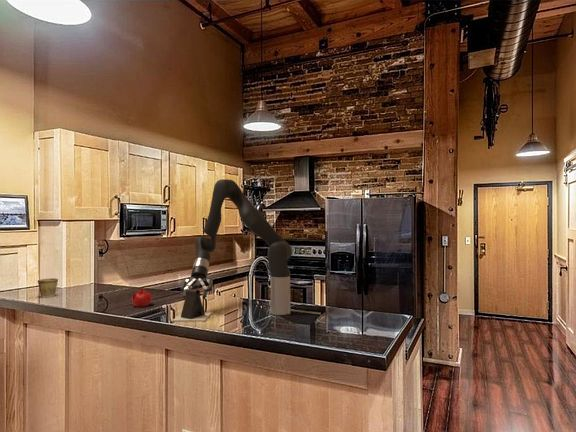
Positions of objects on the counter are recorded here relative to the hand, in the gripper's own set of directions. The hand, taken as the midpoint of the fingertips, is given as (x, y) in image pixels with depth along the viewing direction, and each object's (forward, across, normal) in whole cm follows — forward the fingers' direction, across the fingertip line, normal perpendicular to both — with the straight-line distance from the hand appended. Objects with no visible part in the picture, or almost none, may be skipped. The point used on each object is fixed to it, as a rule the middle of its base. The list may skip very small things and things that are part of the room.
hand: (194, 297), depth 174 cm
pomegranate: (-10, -33, +22) cm, 41 cm away
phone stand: (+8, 0, +4) cm, 8 cm away
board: (+8, 0, +4) cm, 9 cm away
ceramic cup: (-28, -98, +41) cm, 110 cm away
